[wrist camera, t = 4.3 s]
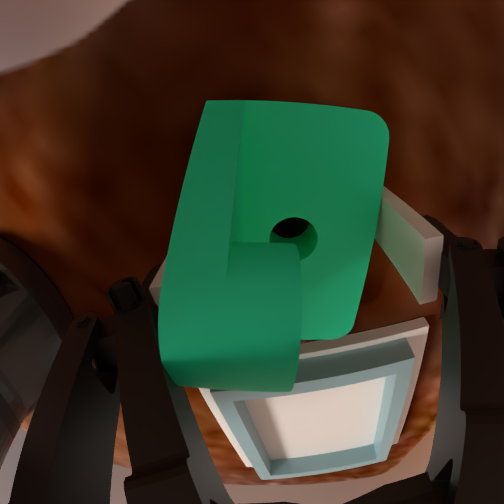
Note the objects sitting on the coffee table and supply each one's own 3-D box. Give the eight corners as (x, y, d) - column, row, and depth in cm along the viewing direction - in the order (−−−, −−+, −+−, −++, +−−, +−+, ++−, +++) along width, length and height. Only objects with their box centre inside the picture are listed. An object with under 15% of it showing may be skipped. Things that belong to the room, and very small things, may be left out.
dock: (247, 459, 29) (246, 481, 26) (189, 357, 21) (181, 388, 18) (395, 436, 27) (401, 457, 24) (423, 316, 19) (440, 344, 16)
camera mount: (340, 311, 19) (380, 457, 10) (219, 308, 19) (191, 461, 10) (371, 112, 13) (519, 143, 4) (215, 101, 13) (126, 97, 4)
